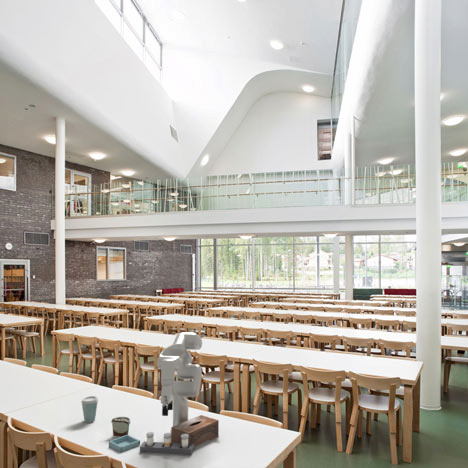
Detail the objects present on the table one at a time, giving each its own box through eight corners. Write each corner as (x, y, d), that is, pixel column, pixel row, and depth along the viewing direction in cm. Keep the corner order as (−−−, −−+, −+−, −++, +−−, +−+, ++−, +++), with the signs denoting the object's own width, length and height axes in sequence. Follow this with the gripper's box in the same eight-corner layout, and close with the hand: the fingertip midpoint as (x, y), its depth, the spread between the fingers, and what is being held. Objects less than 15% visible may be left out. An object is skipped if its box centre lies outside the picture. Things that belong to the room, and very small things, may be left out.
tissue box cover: (201, 431, 267) (201, 415, 268) (218, 437, 259) (218, 420, 259) (171, 444, 247) (171, 427, 248) (188, 451, 238) (188, 433, 239)
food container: (134, 434, 262) (134, 417, 263) (128, 438, 256) (129, 421, 257) (116, 432, 266) (116, 415, 266) (110, 435, 260) (111, 419, 260)
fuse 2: (185, 449, 238) (185, 433, 239) (189, 451, 235) (190, 435, 236) (179, 451, 235) (179, 435, 236) (184, 454, 232) (184, 437, 233)
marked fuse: (167, 448, 239) (167, 432, 240) (172, 450, 236) (172, 434, 237) (162, 451, 236) (162, 434, 237) (166, 453, 233) (166, 436, 234)
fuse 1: (150, 447, 240) (150, 431, 241) (154, 449, 237) (155, 433, 238) (144, 450, 237) (145, 433, 238) (149, 452, 235) (149, 435, 235)
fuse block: (139, 454, 234) (139, 446, 235) (143, 448, 241) (144, 441, 242) (191, 457, 231) (191, 449, 231) (194, 451, 238) (194, 443, 238)
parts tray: (127, 440, 252) (127, 434, 253) (140, 446, 244) (140, 440, 244) (108, 447, 243) (108, 441, 243) (120, 453, 235) (121, 447, 235)
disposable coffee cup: (92, 424, 278) (92, 401, 279) (77, 423, 280) (78, 400, 281) (100, 418, 289) (101, 396, 290) (86, 417, 291) (86, 395, 292)
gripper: (165, 377, 248) (165, 407, 246) (157, 385, 231) (156, 417, 229) (178, 377, 247) (177, 408, 246) (170, 385, 230) (169, 418, 228)
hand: (167, 412), depth 237 cm, fingers open, 9 cm apart
